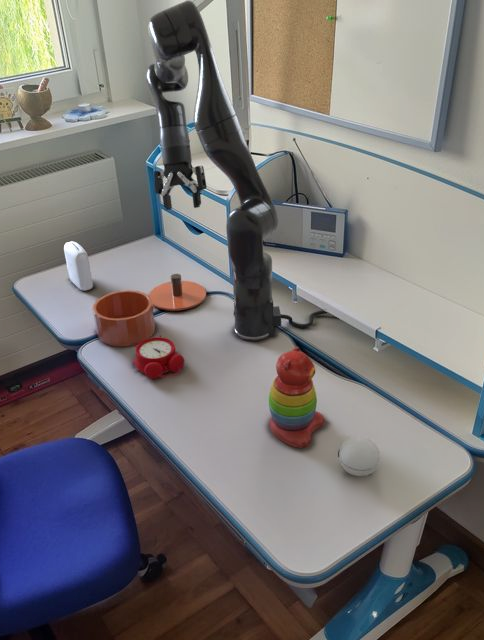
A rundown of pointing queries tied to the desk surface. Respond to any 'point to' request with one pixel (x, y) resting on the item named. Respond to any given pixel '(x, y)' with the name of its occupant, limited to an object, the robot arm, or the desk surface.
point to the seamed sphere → (359, 455)
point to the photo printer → (78, 265)
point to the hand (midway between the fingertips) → (182, 208)
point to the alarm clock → (157, 357)
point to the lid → (177, 294)
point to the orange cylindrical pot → (124, 318)
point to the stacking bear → (294, 400)
